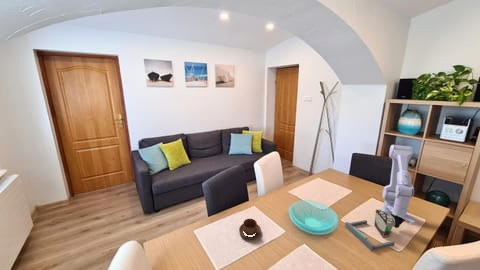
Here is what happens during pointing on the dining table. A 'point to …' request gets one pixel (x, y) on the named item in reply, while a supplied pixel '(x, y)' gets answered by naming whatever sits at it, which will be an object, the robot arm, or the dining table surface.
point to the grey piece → (363, 239)
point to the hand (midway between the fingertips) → (396, 226)
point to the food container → (384, 223)
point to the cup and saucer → (250, 228)
